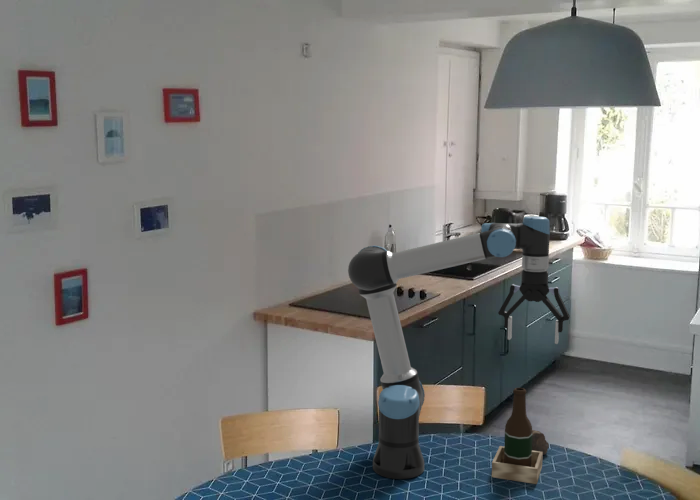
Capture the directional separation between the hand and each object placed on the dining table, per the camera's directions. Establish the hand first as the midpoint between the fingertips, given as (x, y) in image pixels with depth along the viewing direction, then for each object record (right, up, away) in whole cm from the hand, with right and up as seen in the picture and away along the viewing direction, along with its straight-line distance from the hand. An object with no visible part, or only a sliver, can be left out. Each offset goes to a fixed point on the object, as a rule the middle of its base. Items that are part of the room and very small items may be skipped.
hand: (532, 340), depth 220 cm
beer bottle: (-5, -37, -3) cm, 37 cm away
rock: (+1, -36, +10) cm, 37 cm away
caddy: (-5, -38, -3) cm, 38 cm away
